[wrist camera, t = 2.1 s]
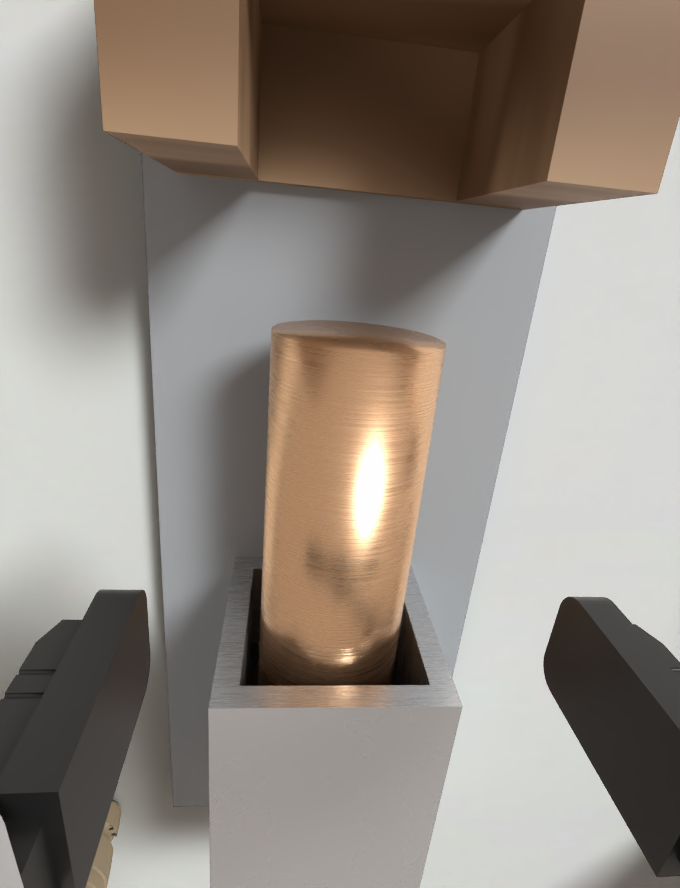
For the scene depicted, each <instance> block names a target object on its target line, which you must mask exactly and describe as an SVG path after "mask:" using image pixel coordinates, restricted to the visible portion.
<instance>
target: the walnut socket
mask: <svg viewBox="0 0 680 888" xmlns="http://www.w3.org/2000/svg"><path fill="white" fill-rule="evenodd" d="M94 10H95V24H96V37H97V51H98V65H99V79H100V93H101V107H102V121H103V131H105V132H106V133H108V134H110V135H112V136H113V137H115V138H117V139H119V140H121V141H122V142H124V143H126V144H128V145H129V146H131V147H133V148H135V149H136V150H138V151H140V152H142V153H143V154H145V155H147V156H149V157H151V158H152V159H154V160H156V161H158V162H159V163H161V164H163V165H165V166H166V167H168V168H170V169H172V170H174V171H175V172H177V173H179V174H188V175H198V176H207V177H217V178H226V179H235V180H245V181H254V182H264V183H273V184H283V185H292V186H302V187H311V188H320V189H330V190H339V191H349V192H358V193H368V194H377V195H387V196H396V197H405V198H415V199H424V200H434V201H443V202H453V203H462V204H472V205H481V206H490V207H500V208H509V209H519V210H526V209H534V208H542V207H551V206H559V205H567V204H575V203H583V202H592V201H600V200H608V199H616V198H624V197H632V196H641V195H649V194H657V193H658V190H659V187H660V183H661V180H662V176H663V173H664V169H665V166H666V162H667V159H668V155H669V152H670V148H671V145H672V141H673V138H674V134H675V131H676V127H677V124H678V120H679V117H680V0H94Z"/></svg>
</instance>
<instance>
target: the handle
mask: <svg viewBox="0 0 680 888" xmlns="http://www.w3.org/2000/svg"><path fill="white" fill-rule="evenodd" d="M120 815H121V810H120V807H119V805H118V804H117V802H113V801H112V803H111V806H110V809H109V812H108V816H107V819H106V822H105V825H104V829H103V832H102V835H101V839H100V842H99V845H98V848H97V852H96V855H95V858H94V861H93V865H92V868H91V871H90V874H89V878H88V881H87V884H86V887H85V888H107V884H108V879H109V874H110V869H111V862H112V854H113V847H112V844H111V840H112V839H113V837H114V836H117V833H118V828H119V823H120Z"/></svg>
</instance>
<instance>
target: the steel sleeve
mask: <svg viewBox="0 0 680 888" xmlns="http://www.w3.org/2000/svg"><path fill="white" fill-rule="evenodd" d="M262 562H263V557H235V563H234V568H233V574H232V580H231V585H230V591H229V596H228V602H227V608H226V613H225V619H224V624H223V630H222V635H221V641H220V647H219V652H218V658H217V663H216V669H215V674H214V680H213V686H212V691H211V697H210V702H209V708H208V720H209V824H210V888H419V887H420V883H421V879H422V874H423V870H424V866H425V862H426V858H427V853H428V849H429V845H430V841H431V836H432V832H433V828H434V824H435V820H436V815H437V811H438V807H439V803H440V799H441V794H442V790H443V786H444V782H445V778H446V773H447V769H448V765H449V761H450V757H451V752H452V748H453V744H454V740H455V735H456V731H457V727H458V723H459V719H460V714H461V710H462V704H461V701H460V698H459V696H458V693H457V690H456V687H455V685H454V682H453V679H452V676H451V674H450V671H449V668H448V665H447V663H446V660H445V657H444V654H443V652H442V649H441V646H440V643H439V640H438V638H437V635H436V632H435V629H434V627H433V624H432V621H431V618H430V616H429V613H428V610H427V607H426V605H425V602H424V599H423V596H422V594H421V591H420V588H419V585H418V582H417V580H416V577H415V574H414V571H413V569H412V566H411V564H410V570H409V576H408V582H407V588H406V594H405V600H404V606H403V612H402V618H401V625H400V631H399V637H398V643H397V649H396V655H395V661H394V667H393V673H392V679H391V685H340V686H258V668H259V642H260V615H261V589H262Z"/></svg>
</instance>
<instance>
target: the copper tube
mask: <svg viewBox="0 0 680 888" xmlns="http://www.w3.org/2000/svg"><path fill="white" fill-rule="evenodd" d="M445 351H446V343H445V342H444V341H442V340H440V339H438V338H436V337H434V336H431V335H428V334H424V333H421V332H417V331H412V330H408V329H403V328H397V327H391V326H385V325H378V324H370V323H360V322H349V321H331V320H303V321H290V322H283V323H279V324H276V325H274V326H272V328H271V350H270V377H269V403H268V430H267V456H266V483H265V509H264V536H263V562H262V589H261V615H260V642H259V668H258V686H340V685H391V679H392V673H393V667H394V661H395V655H396V649H397V643H398V637H399V631H400V625H401V618H402V612H403V606H404V600H405V594H406V588H407V582H408V576H409V570H410V564H411V558H412V551H413V545H414V539H415V533H416V527H417V521H418V515H419V509H420V503H421V497H422V491H423V485H424V478H425V472H426V466H427V460H428V454H429V448H430V442H431V436H432V430H433V424H434V418H435V411H436V405H437V399H438V393H439V387H440V381H441V375H442V369H443V363H444V357H445Z"/></svg>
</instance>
